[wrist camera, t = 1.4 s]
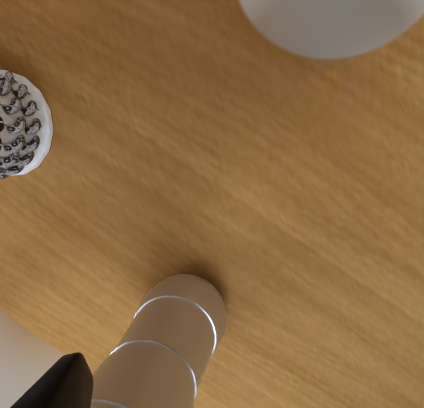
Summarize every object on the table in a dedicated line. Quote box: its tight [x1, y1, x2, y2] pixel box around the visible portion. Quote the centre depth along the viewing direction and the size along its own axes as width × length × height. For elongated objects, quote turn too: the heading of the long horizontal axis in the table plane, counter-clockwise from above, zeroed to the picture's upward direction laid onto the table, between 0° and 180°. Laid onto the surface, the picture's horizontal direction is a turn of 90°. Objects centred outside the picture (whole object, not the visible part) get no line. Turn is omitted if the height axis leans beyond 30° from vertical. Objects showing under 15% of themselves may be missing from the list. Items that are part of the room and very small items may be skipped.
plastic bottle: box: [90, 274, 225, 408], centre depth 16 cm, size 6×7×20 cm
